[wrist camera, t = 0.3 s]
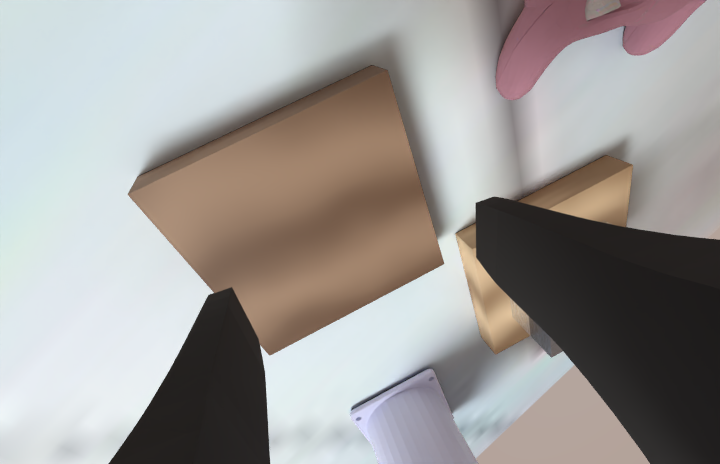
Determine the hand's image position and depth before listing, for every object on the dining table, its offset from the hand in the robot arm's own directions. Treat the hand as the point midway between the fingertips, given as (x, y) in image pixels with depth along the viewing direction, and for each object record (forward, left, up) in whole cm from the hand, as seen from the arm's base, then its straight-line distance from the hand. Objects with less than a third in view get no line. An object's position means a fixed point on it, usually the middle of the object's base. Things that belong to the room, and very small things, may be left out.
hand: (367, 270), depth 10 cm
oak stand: (-15, -13, -10) cm, 22 cm away
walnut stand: (-3, +1, -10) cm, 10 cm away
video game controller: (+1, -16, -10) cm, 19 cm away
